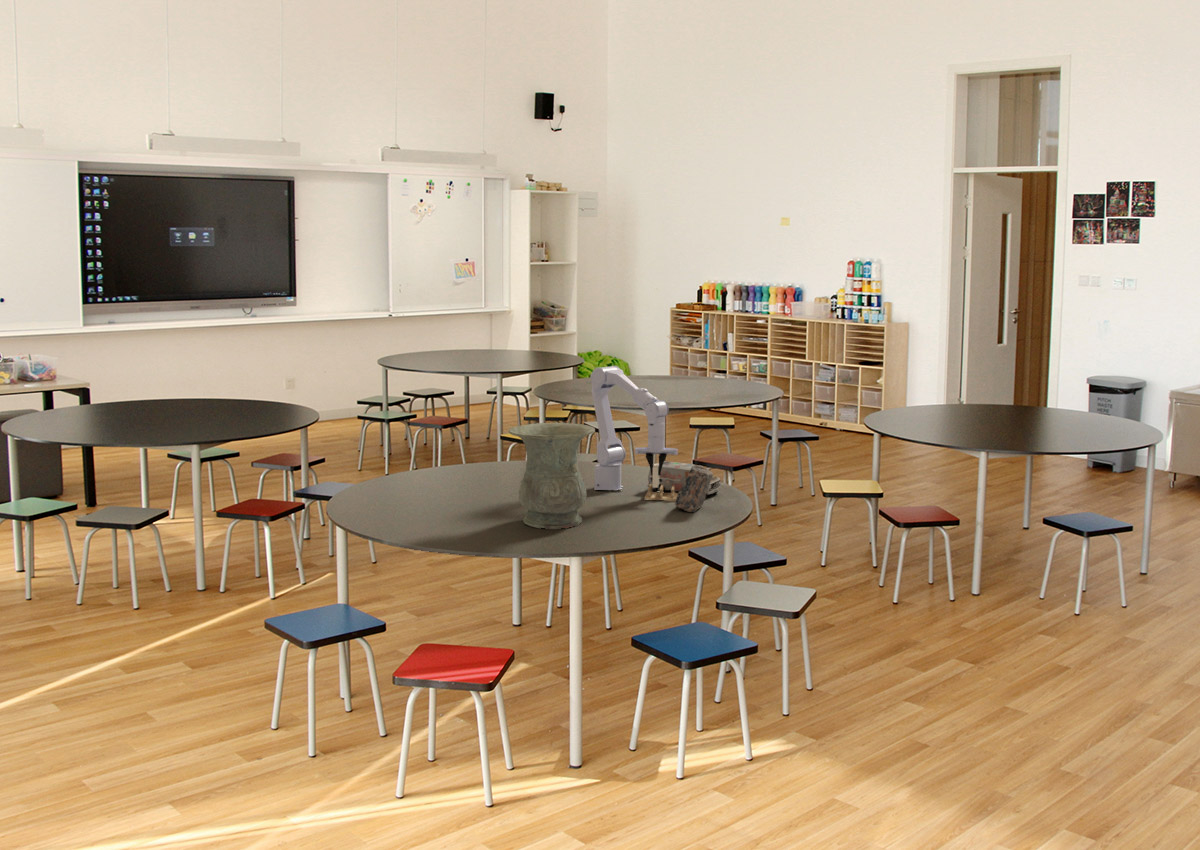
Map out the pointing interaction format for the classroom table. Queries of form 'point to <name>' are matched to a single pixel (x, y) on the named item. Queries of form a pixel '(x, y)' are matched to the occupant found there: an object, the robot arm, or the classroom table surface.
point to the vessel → (552, 474)
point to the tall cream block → (655, 476)
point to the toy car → (679, 477)
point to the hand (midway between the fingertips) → (656, 474)
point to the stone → (694, 489)
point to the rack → (661, 494)
